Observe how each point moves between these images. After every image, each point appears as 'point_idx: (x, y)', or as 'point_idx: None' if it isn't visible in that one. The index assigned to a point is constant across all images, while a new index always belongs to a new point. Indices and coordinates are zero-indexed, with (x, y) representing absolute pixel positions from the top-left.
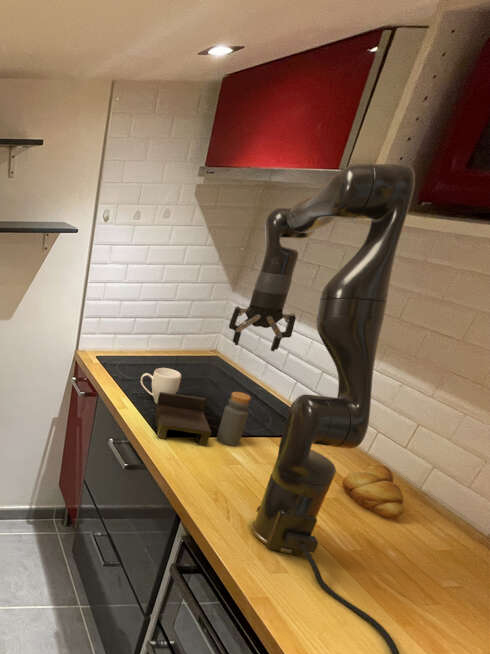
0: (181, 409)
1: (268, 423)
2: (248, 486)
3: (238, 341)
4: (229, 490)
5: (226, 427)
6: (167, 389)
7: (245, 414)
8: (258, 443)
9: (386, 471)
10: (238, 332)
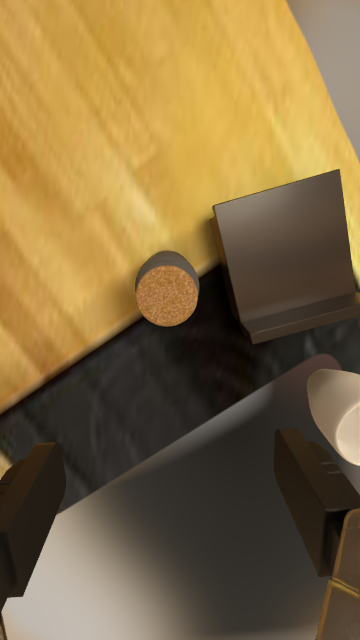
0: (293, 301)
1: (95, 417)
2: (109, 70)
3: (290, 445)
4: (145, 18)
5: (180, 255)
6: (344, 379)
7: (142, 267)
8: (106, 304)
9: None
10: (347, 518)
